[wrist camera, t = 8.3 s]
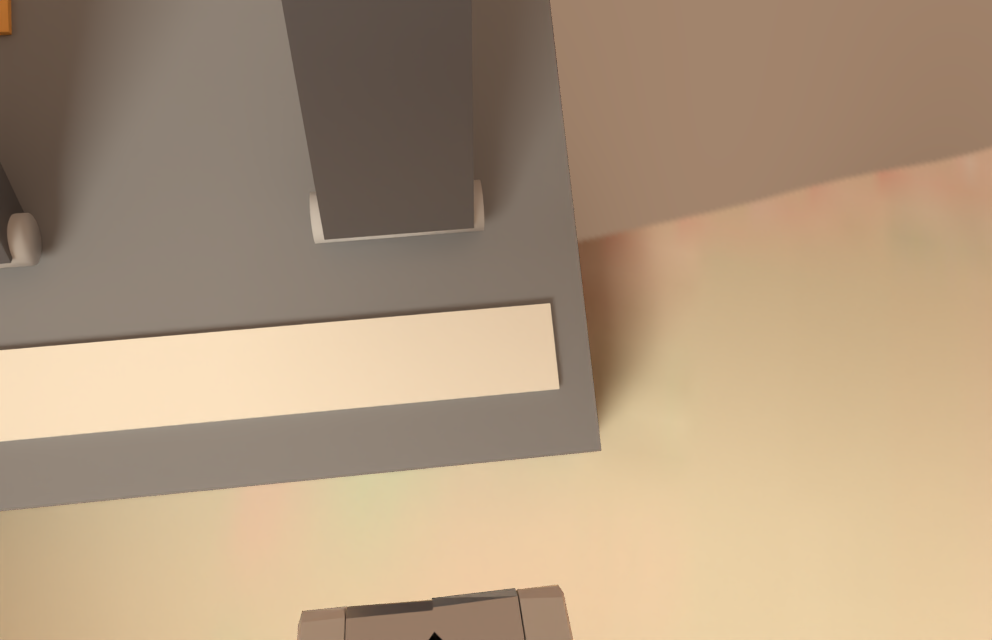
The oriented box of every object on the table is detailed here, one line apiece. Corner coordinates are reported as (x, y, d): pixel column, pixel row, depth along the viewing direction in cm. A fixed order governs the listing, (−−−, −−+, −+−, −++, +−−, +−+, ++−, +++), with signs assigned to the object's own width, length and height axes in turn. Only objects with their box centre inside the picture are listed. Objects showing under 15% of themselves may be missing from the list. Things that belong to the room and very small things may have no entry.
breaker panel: (528, -27, 31) (541, -87, 28) (582, 452, 29) (602, 450, 25) (-163, 10, 29) (-240, -49, 26) (-167, 527, 27) (-253, 536, 23)
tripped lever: (477, 202, 27) (475, -148, 19) (485, 246, 25) (485, -110, 18) (316, 214, 26) (252, -139, 19) (316, 259, 25) (247, -99, 18)
